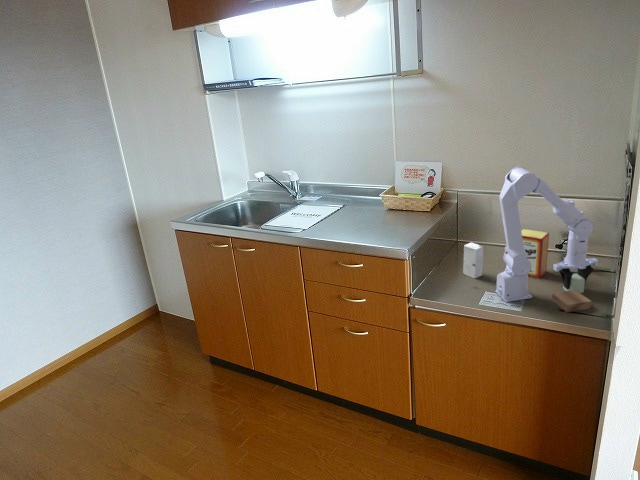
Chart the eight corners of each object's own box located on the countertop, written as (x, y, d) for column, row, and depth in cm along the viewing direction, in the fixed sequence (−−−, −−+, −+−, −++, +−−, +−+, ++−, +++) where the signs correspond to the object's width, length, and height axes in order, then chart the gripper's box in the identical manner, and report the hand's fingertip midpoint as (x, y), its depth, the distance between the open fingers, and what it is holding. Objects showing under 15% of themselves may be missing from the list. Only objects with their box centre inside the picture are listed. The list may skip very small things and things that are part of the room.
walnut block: (566, 313, 146) (567, 305, 145) (551, 301, 154) (552, 293, 153) (590, 309, 147) (591, 301, 146) (574, 297, 154) (575, 289, 153)
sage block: (570, 294, 156) (572, 281, 154) (562, 288, 160) (564, 275, 158) (583, 292, 156) (585, 279, 154) (575, 286, 160) (576, 273, 158)
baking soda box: (513, 272, 174) (515, 233, 169) (520, 266, 179) (522, 227, 173) (539, 278, 168) (542, 238, 162) (546, 271, 172) (549, 232, 166)
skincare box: (462, 273, 178) (462, 245, 174) (470, 270, 180) (470, 241, 176) (475, 279, 173) (475, 249, 169) (483, 275, 175) (483, 246, 171)
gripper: (563, 258, 148) (560, 295, 153) (606, 251, 149) (601, 288, 154) (550, 249, 155) (548, 285, 160) (591, 243, 156) (587, 279, 161)
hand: (573, 286), depth 157 cm, fingers closed on sage block, 4 cm apart
